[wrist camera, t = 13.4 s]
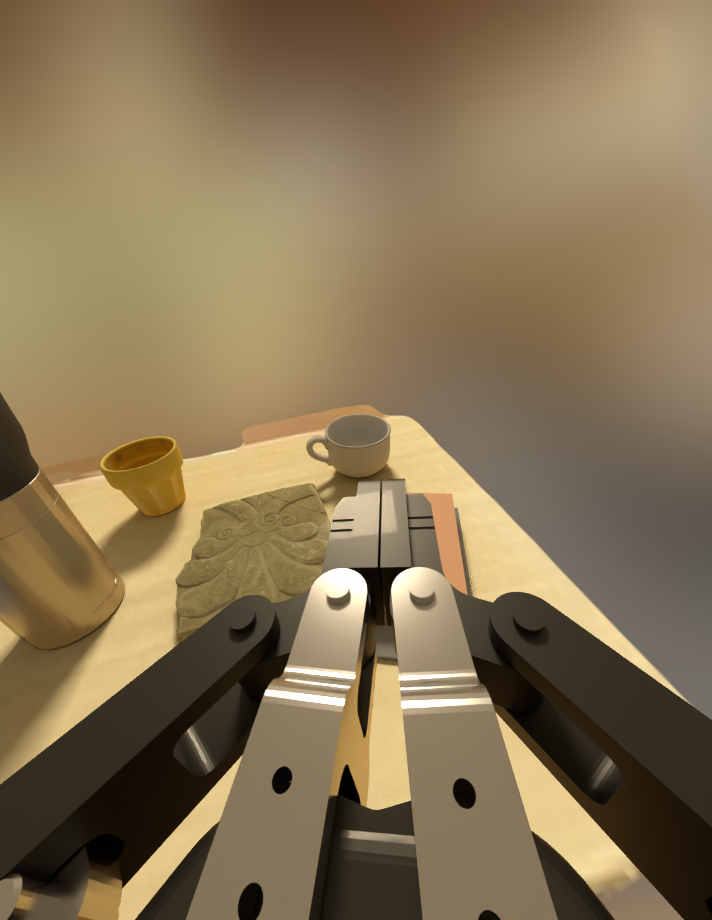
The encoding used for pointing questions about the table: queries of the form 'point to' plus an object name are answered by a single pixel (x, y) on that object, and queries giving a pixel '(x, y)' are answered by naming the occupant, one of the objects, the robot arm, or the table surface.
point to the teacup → (354, 444)
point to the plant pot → (147, 474)
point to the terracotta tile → (447, 539)
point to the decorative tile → (253, 553)
